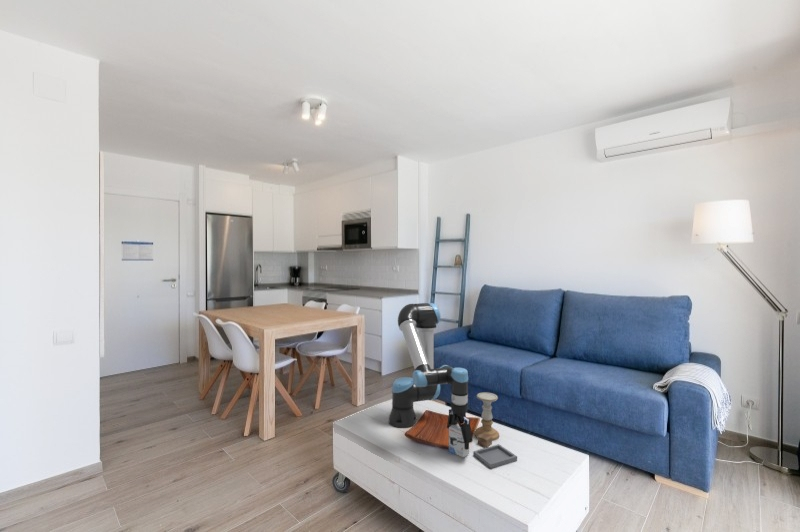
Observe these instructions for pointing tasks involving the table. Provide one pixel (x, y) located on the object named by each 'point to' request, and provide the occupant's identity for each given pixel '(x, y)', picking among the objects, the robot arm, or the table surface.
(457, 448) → the ink box
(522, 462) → the table surface
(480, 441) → the walnut block
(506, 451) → the tray
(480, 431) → the candle holder
